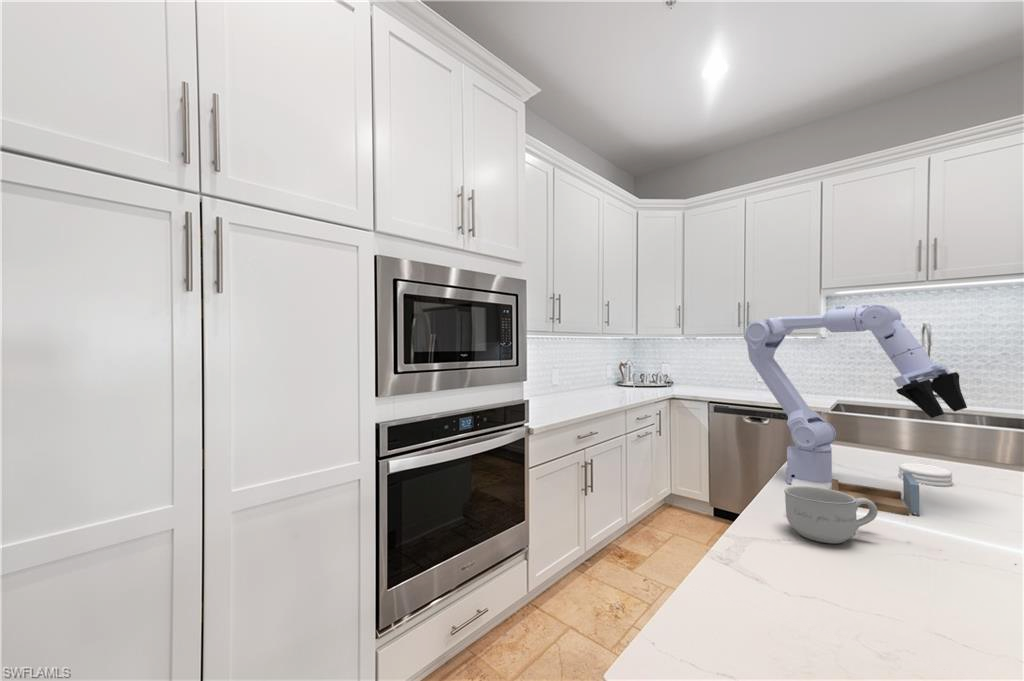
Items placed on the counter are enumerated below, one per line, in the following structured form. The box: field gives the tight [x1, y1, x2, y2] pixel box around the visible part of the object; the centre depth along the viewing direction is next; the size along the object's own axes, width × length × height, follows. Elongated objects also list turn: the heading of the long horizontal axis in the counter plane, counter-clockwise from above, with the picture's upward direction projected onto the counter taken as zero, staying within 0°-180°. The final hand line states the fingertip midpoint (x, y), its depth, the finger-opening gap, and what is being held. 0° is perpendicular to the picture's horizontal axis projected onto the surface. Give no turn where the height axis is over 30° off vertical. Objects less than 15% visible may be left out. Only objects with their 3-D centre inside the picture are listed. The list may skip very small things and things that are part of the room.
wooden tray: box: [831, 478, 910, 517], centre depth 91 cm, size 12×12×4 cm
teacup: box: [783, 485, 878, 544], centre depth 77 cm, size 14×11×8 cm
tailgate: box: [902, 472, 920, 517], centre depth 87 cm, size 1×11×6 cm, turn 143°
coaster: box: [898, 462, 953, 488], centre depth 110 cm, size 10×10×4 cm
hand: (949, 412), depth 86 cm, fingers open, 7 cm apart
